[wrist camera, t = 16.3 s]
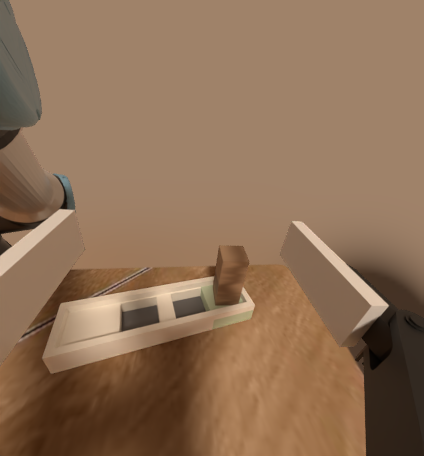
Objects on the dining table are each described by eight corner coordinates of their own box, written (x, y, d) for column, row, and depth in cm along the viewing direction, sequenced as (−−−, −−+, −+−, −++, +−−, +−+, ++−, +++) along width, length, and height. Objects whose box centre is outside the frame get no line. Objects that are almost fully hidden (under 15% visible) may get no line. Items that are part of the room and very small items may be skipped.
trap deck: (50, 374, 31) (41, 358, 29) (66, 318, 39) (60, 303, 37) (250, 318, 43) (254, 305, 41) (231, 285, 51) (234, 272, 49)
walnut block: (215, 305, 42) (222, 261, 36) (212, 287, 46) (219, 245, 40) (238, 305, 42) (249, 261, 37) (233, 287, 47) (243, 246, 41)
